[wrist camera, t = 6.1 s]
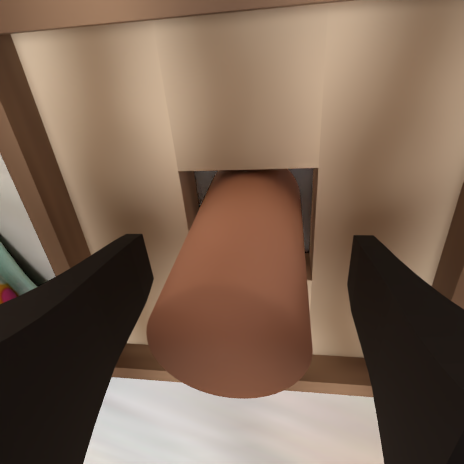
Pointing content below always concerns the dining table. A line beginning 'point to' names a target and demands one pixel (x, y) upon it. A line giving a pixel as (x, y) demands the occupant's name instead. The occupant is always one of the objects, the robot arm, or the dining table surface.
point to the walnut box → (241, 136)
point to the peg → (238, 291)
